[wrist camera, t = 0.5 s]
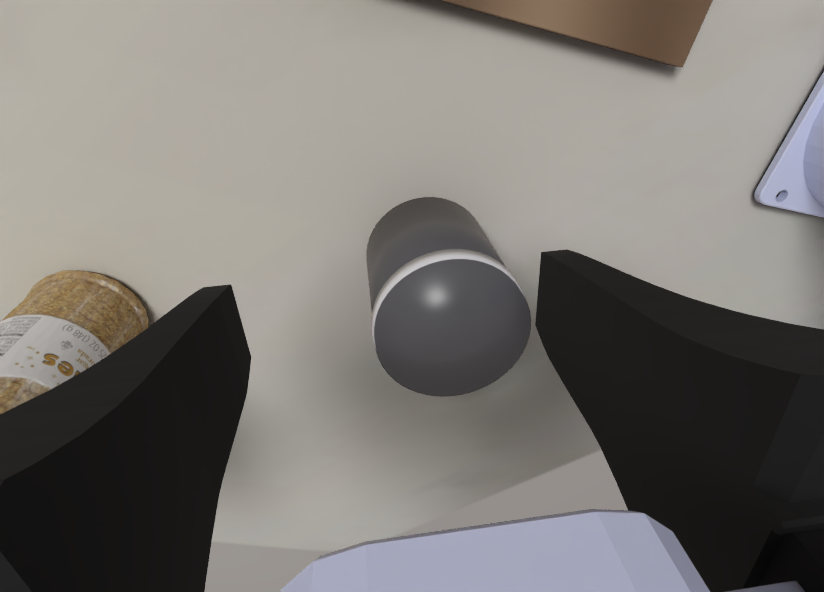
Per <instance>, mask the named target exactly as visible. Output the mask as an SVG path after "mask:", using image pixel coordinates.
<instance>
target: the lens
mask: <svg viewBox="0 0 824 592" xmlns="http://www.w3.org/2000/svg"><path fill="white" fill-rule="evenodd" d="M367 268H368V278H369V288H370V298H371V308H372V334H373V341H374V346H375V349H376V352H377V355H378V358H379V360H380V362H381V364H382V366H383V368H384V369H385V370H386V372H387V373H388V374H389V375H390V376H391V377H392V378H393V379H394V380H395V381H396V382H398V383H399V384H400V385H402V386H404V387H406V388H408V389H410V390H412V391H415V392H418V393H421V394H425V395H431V396H455V395H462V394H466V393H470V392H473V391H476V390H478V389H481V388H483V387H485V386H487V385H489V384H491V383H493V382H494V381H496V380H497V379H499V378H500V377H501V376H503V375H504V374H505V373H506V372H507V371H508V370H509V369H510V368H512V366H513V365H514V364H515V363H516V362H517V360H518V359H519V357H520V356H521V354H522V353H523V351H524V349H525V347H526V344H527V341H528V338H529V334H530V329H531V317H530V311H529V307H528V304H527V302H526V299H525V296H524V294H523V291H522V289H521V288H520V286H519V284H518V283H517V281H516V280H515V278H514V277H513V275H512V274H511V273H510V272H509V270H508V269H507V268H506V267H505V265H504V264H503V262H502V260H501V259H500V257H499V256H498V254H497V252H496V251H495V249H494V248H493V246H492V245H491V243H490V241H489V240H488V238H487V237H486V235H485V233H484V232H483V230H482V229H481V227H480V225H479V224H478V222H477V221H476V219H475V218H474V217H473V216H472V215H471V214H470V212H469V211H467V210H466V209H465V208H463V207H462V206H460V205H459V204H457V203H455V202H452V201H450V200H446V199H442V198H435V197H424V198H417V199H413V200H409V201H407V202H404V203H402V204H400V205H398V206H396V207H394V208H393V209H392V210H390V211H389V212H388V213H386V214H385V215H384V216H383V217H382V218H381V220H380V221H379V222H378V223H377V225H376V226H375V228H374V229H373V231H372V233H371V236H370V238H369V242H368V245H367Z"/></svg>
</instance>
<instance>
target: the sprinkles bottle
mask: <svg viewBox="0 0 824 592" xmlns="http://www.w3.org/2000/svg"><path fill="white" fill-rule="evenodd" d="M148 327H149V325H148V317H147V313H146V309H145V308H144V307H143V305H142V304H141V302H140V300H139V299H138V298H137V297H136V296H135V295H134V294H133V293H132V292H131V291H130V290H129V289H128V288H126V287H124V286H123V285H122V284H121V283H119V282H118V281H116V280H114V279H110V278H108V277H106V276H104V275H101V274H97V273H93V272H85V271H61V272H58V273H56V274H53V275H50V276H47V277H45V278H44V279H42V280H40V281H39V282H37V283H36V284H35V285H34V286H33V287H32V289H31V290H30V292H29V293H28V295H27V297H26V298H25V299H24V301H23V302H22V303H20V304H19V305H18V306H17V307H16V308H15V309H13V310H12V311H11V312H10V313H9V314H8V315H7V316H6V317H5V318H4V319H3V320H2V321H0V414H2V413H4V412H6V411H8V410H10V409H12V408H14V407H16V406H18V405H20V404H22V403H24V402H26V401H28V400H30V399H32V398H34V397H36V396H39V395H41V394H43V393H45V392H47V391H49V390H51V389H52V388H54V387H56V386H58V385H60V384H62V383H63V382H65V381H67V380H69V379H70V378H72V377H74V376H76V375H77V374H79V373H81V372H83V371H84V370H86V369H87V368H89V367H91V366H92V365H94V364H96V363H97V362H99V361H100V360H102V359H104V358H105V357H107V356H108V355H109V354H111V353H112V352H114V351H115V350H117V349H118V348H120V347H121V346H123V345H124V344H125V343H127V342H128V341H130V340H131V339H133V338H134V337H136V336H137V335H138V334H140V333H141V332H143V331H144V330H145V329H147V328H148Z"/></svg>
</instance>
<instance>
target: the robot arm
mask: <svg viewBox="0 0 824 592" xmlns="http://www.w3.org/2000/svg"><path fill="white" fill-rule="evenodd" d="M780 191H781V192H780ZM779 192H780V194H779V196H778V197H776V195H777V194H778V193H779ZM755 199H756V201H758V202H760V203H762V204H764V205H768V206H773V207H777V208H782V209H786V210H791V211H795V212H800V213H805V214H809V215H814V216H818V217H823V218H824V72H823V73H822V75H821V77H820V79H819V80H818V82H817V84H816V86H815V87H814V89H813V91H812V93H811V94H810V96H809V98H808V100H807V101H806V103H805V105H804V107H803V108H802V110H801V112H800V114H799V115H798V117H797V119H796V121H795V122H794V124H793V126H792V128H791V129H790V131H789V133H788V135H787V136H786V138H785V140H784V141H783V143H782V145H781V147H780V148H779V150H778V152H777V154H776V155H775V157H774V159H773V161H772V162H771V164H770V166H769V168H768V169H767V171H766V173H765V175H764V176H763V178H762V180H761V182H760V183H759V185H758V187H757V189H756V191H755ZM535 325H536V327H537V330H538V333H539V335H540V338H541V341H542V343H543V345H544V348H545V350H546V353H547V355H548V357H549V359H550V361H551V363H552V364H553V366H554V368H555V370H556V371H557V373H558V375H559V376H560V378H561V380H562V382H563V383H564V385H565V387H566V388H567V390H568V392H569V393H570V395H571V397H572V398H573V400H574V402H575V403H576V405H577V407H578V408H579V410H580V412H581V413H582V415H583V417H584V418H585V420H586V422H587V423H588V425H589V427H590V428H591V430H592V432H593V434H594V436H595V437H596V439H597V441H598V443H599V445H600V447H601V449H602V451H603V454H604V456H605V458H606V460H607V462H608V464H609V467H610V469H611V471H612V473H613V476H614V478H615V480H616V482H617V484H618V487H619V489H620V492H621V494H622V496H623V499H624V501H625V504H626V506H627V508H628V511H623V510H596V509H589V510H583V511H576V512H568V513H562V514H555V515H547V516H540V517H533V518H526V519H520V520H512V521H505V522H498V523H491V524H485V525H478V526H471V527H464V528H457V529H450V530H443V531H436V532H429V533H422V534H415V535H409V536H401V537H394V538H387V539H380V540H373V541H366V542H363V543H360V544H357V545H354V546H350V547H347V548H344V549H341V550H338V551H335V552H331V553H328V554H325V555H322V556H320V557H318V558H317V559H316V560H314V561H313V562H312V563H311V564H310V565H309V566H308V567H306V568H305V569H304V570H303V571H302V572H300V573H299V574H298V575H297V576H296V577H295V578H294V579H292V580H291V581H290V582H289V583H288V584H287V585H286V586H284V587H283V588H282V589H281V592H824V330H823V329H816V328H811V327H805V326H800V325H794V324H789V323H784V322H779V321H775V320H770V319H766V318H761V317H756V316H752V315H748V314H744V313H740V312H736V311H732V310H728V309H725V308H721V307H718V306H715V305H711V304H708V303H704V302H701V301H698V300H694V299H691V298H688V297H685V296H683V295H680V294H677V293H674V292H672V291H669V290H666V289H664V288H661V287H658V286H655V285H653V284H650V283H648V282H646V281H643V280H641V279H638V278H636V277H633V276H631V275H629V274H626V273H624V272H622V271H619V270H617V269H615V268H612V267H610V266H608V265H606V264H603V263H601V262H599V261H596V260H594V259H592V258H589V257H587V256H584V255H582V254H579V253H576V252H573V251H570V250H558V251H549V252H541V264H540V276H539V288H538V300H537V312H536V324H535ZM250 363H251V355H250V351H249V348H248V344H247V341H246V337H245V333H244V330H243V326H242V322H241V319H240V315H239V312H238V308H237V304H236V301H235V297H234V293H233V290H232V286H231V285H222V286H213V287H204V288H202V289H200V290H198V291H197V292H195V293H194V294H192V295H191V296H189V297H188V298H187V299H185V300H184V301H183V302H181V303H180V304H179V305H177V306H176V307H175V308H173V309H172V310H171V311H169V312H168V313H167V314H165V315H164V316H163V317H161V318H160V319H159V320H157V321H156V322H155V323H153V324H152V325H151V326H149V327H148V328H147V329H145V330H144V331H143V332H141V333H140V334H138V335H137V336H136V337H134V338H133V339H131V340H130V341H128V342H127V343H125V344H124V345H123V346H121V347H120V348H118V349H117V350H115V351H114V352H112V353H111V354H109V355H108V356H107V357H105V358H104V359H102V360H100V361H99V362H97V363H96V364H94V365H92V366H91V367H89V368H87V369H86V370H84V371H83V372H81V373H79V374H77V375H76V376H74V377H72V378H70V379H69V380H67V381H65V382H63V383H62V384H60V385H58V386H56V387H54V388H52V389H51V390H49V391H47V392H45V393H43V394H41V395H39V396H36V397H34V398H32V399H30V400H28V401H26V402H24V403H22V404H20V405H18V406H16V407H14V408H12V409H10V410H8V411H6V412H4V413H2V414H0V592H204V590H205V582H206V575H207V567H208V561H209V553H210V547H211V540H212V534H213V528H214V522H215V515H216V509H217V503H218V497H219V493H220V489H221V484H222V480H223V476H224V473H225V469H226V466H227V462H228V459H229V455H230V452H231V448H232V445H233V441H234V438H235V434H236V431H237V427H238V424H239V420H240V416H241V413H242V409H243V406H244V402H245V398H246V394H247V388H248V380H249V372H250Z"/></svg>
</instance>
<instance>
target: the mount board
mask: <svg viewBox="0 0 824 592" xmlns="http://www.w3.org/2000/svg"><path fill="white" fill-rule="evenodd" d="M439 1H443V2H446V3H450V4H453V5H457V6H461V7H464V8H468V9H471V10H475V11H478V12H482V13H486V14H489V15H493V16H496V17H500V18H504V19H507V20H511V21H514V22H518V23H521V24H525V25H529V26H532V27H536V28H539V29H543V30H546V31H550V32H554V33H557V34H561V35H564V36H568V37H572V38H575V39H579V40H582V41H586V42H589V43H593V44H597V45H600V46H604V47H607V48H611V49H615V50H618V51H622V52H625V53H629V54H632V55H636V56H640V57H643V58H647V59H650V60H654V61H657V62H661V63H665V64H668V65H673V66H678V67H683V65H684V63H685V61H686V58H687V56H688V54H689V52H690V49H691V47H692V45H693V43H694V41H695V38H696V36H697V34H698V32H699V29H700V27H701V25H702V23H703V20H704V18H705V16H706V14H707V12H708V9H709V7H710V5H711V3H712V0H439Z"/></svg>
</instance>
